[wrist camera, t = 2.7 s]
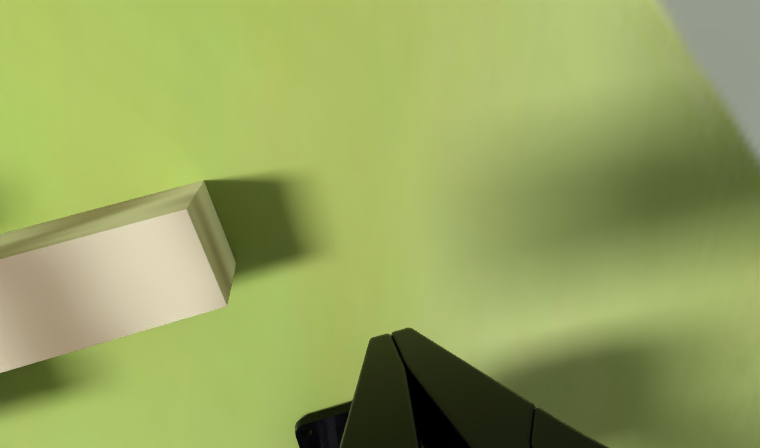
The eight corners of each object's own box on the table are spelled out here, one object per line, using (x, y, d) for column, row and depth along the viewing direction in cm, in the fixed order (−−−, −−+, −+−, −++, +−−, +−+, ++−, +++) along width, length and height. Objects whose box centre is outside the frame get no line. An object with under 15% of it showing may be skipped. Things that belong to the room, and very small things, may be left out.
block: (204, 178, 17) (186, 209, 13) (236, 260, 18) (227, 306, 15) (-84, 254, 16) (-179, 307, 12) (-27, 335, 17) (-99, 402, 14)
